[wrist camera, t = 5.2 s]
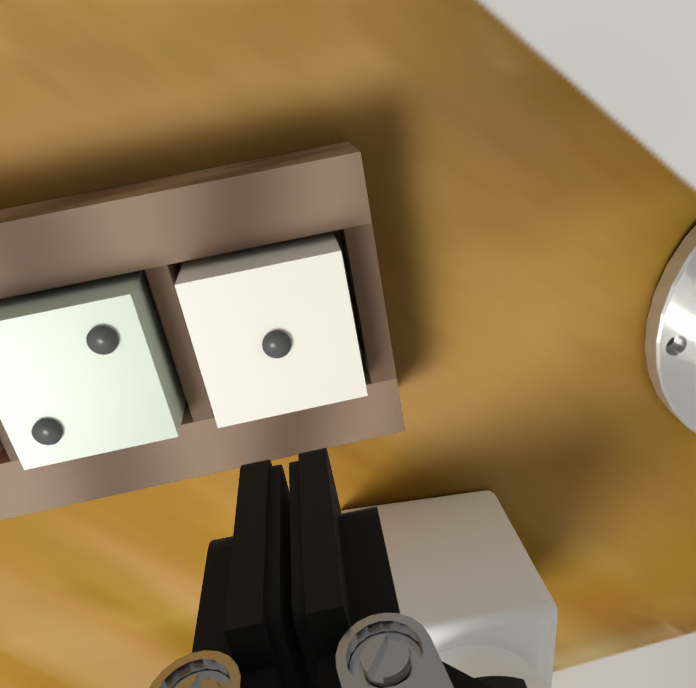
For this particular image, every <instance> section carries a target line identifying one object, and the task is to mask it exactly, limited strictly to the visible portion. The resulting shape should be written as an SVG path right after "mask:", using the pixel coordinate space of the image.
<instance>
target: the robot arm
mask: <svg viewBox="0 0 696 688" xmlns="http://www.w3.org/2000/svg"><path fill="white" fill-rule="evenodd" d="M645 353H646V361H647V368H648V373H649V376H650V378H651V381H652V384H653V386H654V389H655V392H656V394H657V395H658V396H659V398H660V399H661V401H662V402H663V404H664V405H665V406H666V408H667V409H668V411H669V412H671V413H672V414H673V415H674V416H675V417H676V418H677V419H679V420H680V421H681V422H682V423H683V424H684V425H685V426H686V427H687V428H689V429H691V430H692V431H694V432H695V433H696V225H695V227H694V228H693V229H692V230H691V231H690V232H689V233H688V234H687V235H686V237H685V238H684V240H683V241H682V243H681V244H680V246H679V247H678V249H677V250H676V252H675V253H674V255H673V256H672V258H671V259H670V261H669V262H668V264H667V266H666V268H665V270H664V272H663V275H662V277H661V279H660V281H659V283H658V286H657V288H656V290H655V292H654V296H653V299H652V303H651V307H650V311H649V314H648V318H647V324H646V337H645ZM289 484H290V493H289V489H288V485H287V481H286V478H285V474H284V470H283V467H282V465H276V466H272V464H271V461H270V460H269V459H268V460H263V461H258V462H254V463H249V464H244V465H241V468H240V477H239V487H238V496H237V506H236V516H235V525H234V535H233V536H232V537H227V538H222V539H217V540H212V541H211V542H210V543H209V547H208V552H207V559H206V565H205V572H204V578H203V585H202V591H201V598H200V604H199V611H198V617H197V624H196V630H195V637H194V643H193V650H192V653H190V654H188V655H186V656H184V657H182V658H180V659H178V660H176V661H174V662H173V663H172V664H170V665H169V666H168V667H167V668H165V669H164V670H163V671H162V672H161V673H160V674H159V675H158V677H157V678H156V679H155V680H154V681H153V682H152V684H151V686H150V688H492V687H490V686H488V685H486V684H484V683H482V682H480V681H479V680H477V679H475V678H473V677H471V676H469V675H467V674H465V673H464V672H462V671H460V670H458V669H456V668H454V667H452V666H450V665H449V664H447V663H445V662H443V661H441V659H440V656H439V654H438V652H437V650H436V648H435V645H434V643H433V641H432V639H431V637H430V635H429V634H428V632H427V631H426V629H425V628H424V626H423V625H421V624H420V623H419V622H417V621H416V620H414V619H413V618H411V617H408V616H405V615H402V614H400V610H399V605H398V601H397V596H396V591H395V587H394V582H393V577H392V573H391V568H390V564H389V559H388V554H387V550H386V545H385V540H384V536H383V531H382V527H381V522H380V517H379V513H378V508H377V506H376V507H371V508H366V509H362V510H357V511H352V512H347V513H341V509H340V504H339V500H338V496H337V491H336V487H335V483H334V478H333V474H332V470H331V465H330V461H329V457H328V452H327V449H326V448H322V449H317V450H312V451H307V452H302V453H299V461H295V462H290V463H289Z"/></svg>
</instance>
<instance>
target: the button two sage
mask: <svg viewBox="0 0 696 688" xmlns="http://www.w3.org/2000/svg"><path fill="white" fill-rule="evenodd" d="M185 404H186V400H185V397H184V393H183V390H182V387H181V384H180V381H179V378H178V375H177V372H176V369H175V365H174V362H173V359H172V356H171V353H170V350H169V347H168V344H167V341H166V338H165V334H164V331H163V328H162V325H161V322H160V319H159V316H158V313H157V310H156V306H155V303H154V300H153V297H152V294H151V291H150V288H149V285H148V282H147V278H146V275H145V272H144V270H142V271H137V272H132V273H127V274H122V275H117V276H113V277H108V278H103V279H98V280H93V281H88V282H83V283H78V284H73V285H68V286H64V287H59V288H54V289H49V290H44V291H39V292H34V293H29V294H24V295H19V296H15V297H10V298H5V299H0V420H1V422H2V424H3V426H4V428H5V430H6V432H7V434H8V437H9V439H10V441H11V443H12V445H13V447H14V449H15V451H16V454H17V456H18V458H19V460H20V462H21V464H22V466H23V469H24V470H28V469H32V468H37V467H41V466H46V465H51V464H55V463H60V462H65V461H69V460H74V459H78V458H83V457H88V456H92V455H97V454H101V453H106V452H111V451H115V450H120V449H124V448H129V447H134V446H138V445H143V444H148V443H152V442H157V441H161V440H166V439H171V438H175V437H178V436H179V432H180V427H181V423H182V418H183V413H184V409H185Z"/></svg>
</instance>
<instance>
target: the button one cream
mask: <svg viewBox="0 0 696 688" xmlns="http://www.w3.org/2000/svg"><path fill="white" fill-rule="evenodd" d="M175 289H176V292H177V295H178V299H179V302H180V305H181V308H182V312H183V315H184V318H185V322H186V325H187V328H188V331H189V335H190V338H191V341H192V345H193V348H194V351H195V354H196V358H197V361H198V364H199V368H200V371H201V374H202V377H203V381H204V384H205V387H206V391H207V394H208V397H209V401H210V404H211V407H212V410H213V414H214V417H215V420H216V424H217V427H218V428H221V427H226V426H231V425H235V424H240V423H244V422H249V421H254V420H258V419H263V418H268V417H272V416H277V415H281V414H286V413H291V412H295V411H300V410H304V409H309V408H314V407H318V406H323V405H327V404H332V403H337V402H341V401H346V400H351V399H355V398H360V397H364V396H368V394H367V389H366V383H365V378H364V372H363V367H362V361H361V356H360V351H359V345H358V340H357V334H356V329H355V323H354V318H353V312H352V307H351V301H350V296H349V290H348V285H347V280H346V274H345V269H344V263H343V258H342V252H341V249H340V247H339V245H338V242H337V240H336V238H335V236H334V233H333V232H328V233H323V234H318V235H314V236H309V237H304V238H299V239H294V240H289V241H284V242H279V243H274V244H269V245H265V246H260V247H255V248H250V249H245V250H240V251H235V252H230V253H225V254H220V255H216V256H211V257H206V258H201V259H196V260H191V261H186V262H183V264H182V267H181V269H180V272H179V274H178V277H177V280H176V282H175Z"/></svg>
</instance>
